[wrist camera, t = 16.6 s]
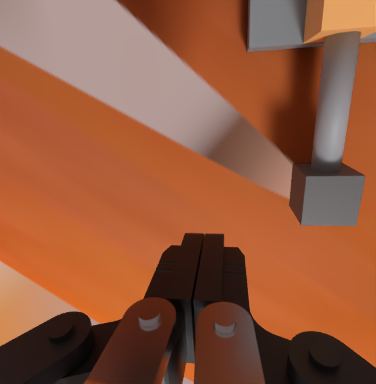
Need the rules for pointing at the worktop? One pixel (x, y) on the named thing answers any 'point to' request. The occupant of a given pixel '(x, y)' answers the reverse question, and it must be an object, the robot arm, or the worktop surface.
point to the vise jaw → (332, 115)
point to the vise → (280, 25)
